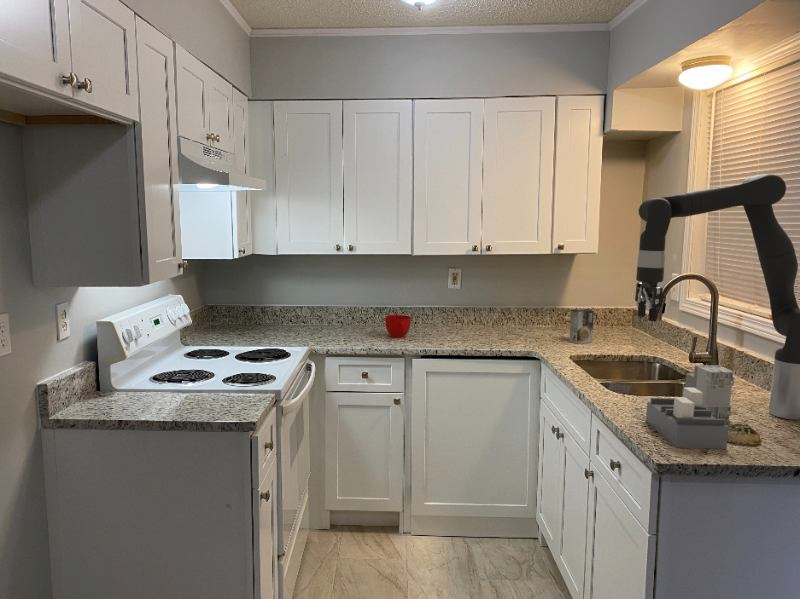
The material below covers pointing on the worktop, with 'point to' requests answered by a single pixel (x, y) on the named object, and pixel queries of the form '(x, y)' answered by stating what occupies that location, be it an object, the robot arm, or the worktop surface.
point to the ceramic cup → (397, 325)
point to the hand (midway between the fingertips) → (646, 318)
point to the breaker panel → (687, 426)
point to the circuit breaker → (713, 388)
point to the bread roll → (742, 434)
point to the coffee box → (581, 326)
